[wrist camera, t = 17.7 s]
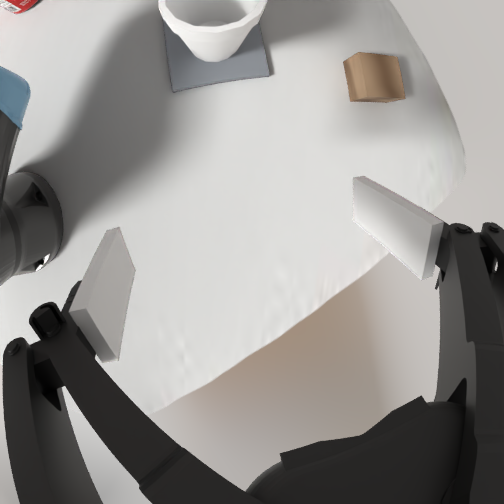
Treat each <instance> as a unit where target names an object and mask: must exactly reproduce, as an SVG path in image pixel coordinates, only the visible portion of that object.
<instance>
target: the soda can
mask: <svg viewBox="0 0 504 504" xmlns="http://www.w3.org/2000/svg"><path fill="white" fill-rule="evenodd" d="M37 1H38V0H0V7H2V8H4V9H6V10H8V11H10V12H12V13H14V14H20V13H22V12H25V11H26V10H28V9H29V8H31V7H32V6H33V5H34V4H35V3H36V2H37Z"/></svg>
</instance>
